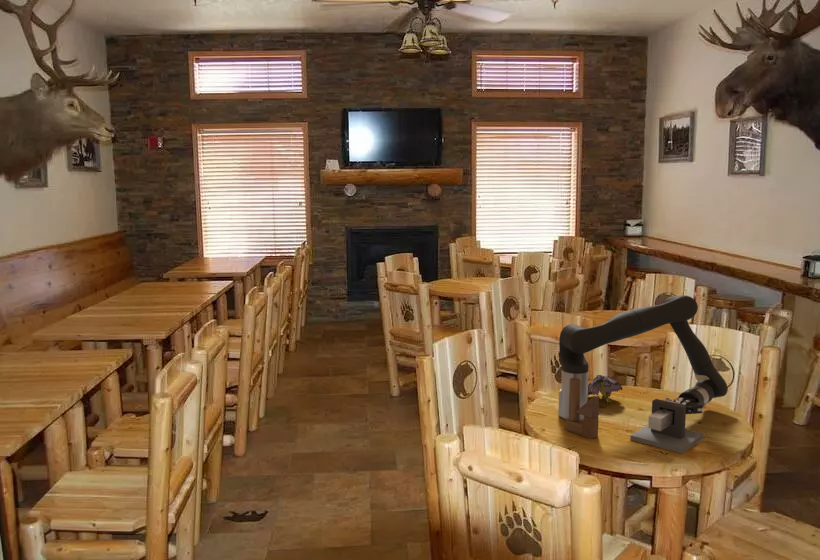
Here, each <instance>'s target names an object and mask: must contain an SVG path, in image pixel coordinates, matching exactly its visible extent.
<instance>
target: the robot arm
mask: <svg viewBox="0 0 820 560" xmlns="http://www.w3.org/2000/svg"><path fill="white" fill-rule="evenodd" d="M698 307H699V305H698V303H697V300H695V298H693V297H692V296H689V295H683V294H680V295H673V296H669V297H667V298H666V299H664V301H663V303H661V304H658V305H649V306H642V307H637V308H632V309H629V310H625V311H622V312H619V313H616V314H615V315H613V316H612V317H610V318H609V319H608V320H607V321H606V322H604V323H602V324H598V325H595V326H591V327H582V326H581V325H578V324H575V323H569V324H567V325H565V326H564V327H563V328H562V329H561V331H560V334H559V344H558V345H559V346H558V347H559V351H558V352H559V361H560V364H561V379H560V380H561V384H560V385H561V386H560V387H561V388H560V389H559V390H558V409H557V410H558V412H557V413H558V415H557V416H558V417H561V418H562V419H563V420H565V421H566V420H568V419H569V383H570V379H571V378H578V379H580V380H581V383H580V408H581V407H582V406H583V405H584V404H585V403H587V402H588V401H589V396H588V385H589V369H590V367H589V363H588V361H587V359H586V357H585V354H587V353H589V352H591V351H594V350H595V349H598V348H600V347H602V346H605V345H607V344H612V343H614V342H618V341H622V340H625V339H628V338H632V337H635V336H639V335H641V334H644V333H646V332H650V331H652V330H655V329H657V328H660V327H663V326H666V325H668V324H669V325H670V326H671V328H672V330H673V332H674V333H675V335H676V336H677V339H678V340H679V342H680V344H681V345H682V348H683V350H684V351H685V354H686V356H687V359H688V361H689V363H690V366H691V368H692V370H693V372H694V374H695V375H696V376H705V377H707V379H701V380H698V381H697V382H695V385H694V386H692V387H690V388H688V389H686V390H685V391H683V392H681V393H680V394H679V395H678V397H677V398H674V399H670V397H666V398H665V400H667V401H672V402H676V403H681V404H684V405H686V415H696V414H703V408H704V407H705V406H706V405H707V404H709V403H710V402H711V401H712V400H713V399H716V398H722V397H725V396H726V395H727V394H728V391H729V390H728V389H729V388H728V384H727V382H726V380H725V379H724V377H723V376H722V375H721V374H720V372H718V370H717V368H716V367H715V366H714V364H713V362H712V359H711V357H710V355H709V352H708V350H707V347H706V346H705V345H704V344H703V342H702V341H701V340H700V338H699V337H698V336H697V335H696V333H694V331H693V329H692V328H691V326H690V323H689V322H688V321H690V320H691V319H693V317H695V315H696V314H697V312H698V309H699V308H698ZM580 420H581V421H583V422H584V415H581V414H580Z"/></svg>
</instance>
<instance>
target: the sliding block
mask: <svg viewBox="0 0 820 560" xmlns="http://www.w3.org/2000/svg"><path fill="white" fill-rule="evenodd" d="M662 400H663V401H667V400H666V399H662ZM668 402H672V401H668ZM673 403H676V402H673ZM677 404H681V403H677ZM682 405H684V404H682ZM674 415H675V410H670V409H666V408H661V409H660V410H658V411H656V412H655V413H653V414H652V413H651V414H650V415H648V424H647V425H648V428H650V429H654V430H658V431H662V430H663V429H665V428H666V427H668V426H670V425H671V424H673V423H674Z"/></svg>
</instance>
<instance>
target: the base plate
mask: <svg viewBox="0 0 820 560" xmlns="http://www.w3.org/2000/svg"><path fill="white" fill-rule="evenodd" d="M629 437H630V440H631V441H634V442H638V443H641V444H645V445H650V446H653V447H656V448H659V449H664V450H666V451H667V450H668V451H672V452H675V453H679V454H682V453H683V454H685V452H687V451H688V450H689V449H690V448H692V447H693V446H695V445H696V444H697V443H699V442H700V441H702V440H703V439H704V437H705V436H704V433H703V432H699V431H696V430H695V431H694V430H691V429H686V428H685V437H684V438H682V439H678V438H674V437H670V436H666V435H663V434H659V433H655V432H651V429H650V428H648V424H646V425H644V427H642V428H640V429H638V430H637V431H636V432H633V433H632V434H630V436H629Z"/></svg>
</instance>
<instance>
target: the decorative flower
mask: <svg viewBox="0 0 820 560" xmlns="http://www.w3.org/2000/svg"><path fill="white" fill-rule="evenodd" d="M618 391H623V386H622V384H620V383H619V382H618V380H616V379H615V378H612V377H609V376H606V375H602V374H598V375H596V377H594V378H593V379H592V380H591V382H589V383H588V397H589V396H590V395H591V396H594V395H595V396H599V394H601V395H602V396H601V399H605V400H606V403H605V404H606V406H609V405H610V403H611V402H612V400H611V399H610V398H609V397H610V396H612V393H613V392H618Z"/></svg>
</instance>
